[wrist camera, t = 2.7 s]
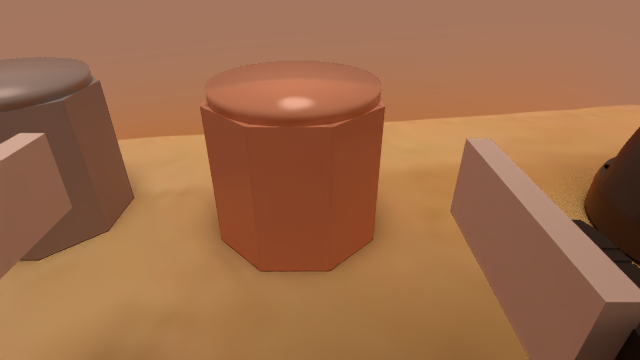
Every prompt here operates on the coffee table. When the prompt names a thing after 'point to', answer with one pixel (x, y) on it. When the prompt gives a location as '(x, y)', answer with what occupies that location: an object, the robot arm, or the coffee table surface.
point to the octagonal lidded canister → (294, 161)
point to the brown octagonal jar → (68, 143)
